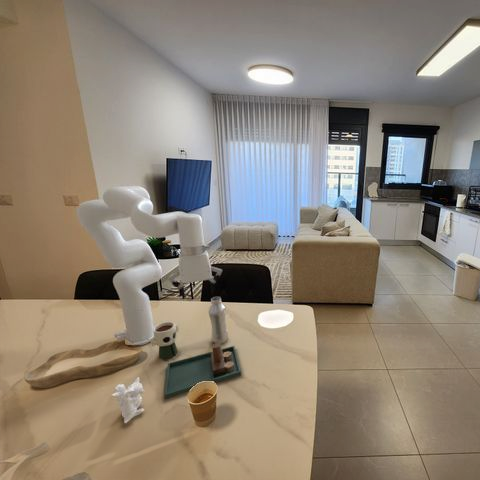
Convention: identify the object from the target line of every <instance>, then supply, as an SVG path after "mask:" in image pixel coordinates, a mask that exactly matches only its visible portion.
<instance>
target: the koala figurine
mask: <svg viewBox="0 0 480 480" xmlns="http://www.w3.org/2000/svg"><path fill="white" fill-rule="evenodd" d="M114 390H115V392H114V393H113V392H112V393H111V394H110V396H111V397H113V398H115V397H116V400H117V402H118V406H119V409H120V411H121V416H122V417H123V424H127V423H128V422H129V421H130V420H131V419H133V418H134V417H136V416H139V415H141V414H142V413H144V411H145V409H144V407H142V408H139V407H140V406H141V404H142V401H143V397H142V396H141V394H144V392H145V389H144V388H143V383H140V377H139V376H138V377H137V378H135V380H134V381H133V383H131V384H129V386H127V388H126V385H125V384H122V383H120V384H117V385H116V386H115V388H114ZM138 408H139V409H138Z"/></svg>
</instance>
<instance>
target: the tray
mask: <svg viewBox="0 0 480 480" xmlns="http://www.w3.org/2000/svg"><path fill="white" fill-rule="evenodd" d="M221 350H222V352H223V354H224V353H225V352H227V351H229V352H231V355H232V358H231V360H229V361H224V363H225V364H226V363H227V362H233V363H234V369H233V371H231V372H226V374H225V375H221V376H218V377H215V378H214V375H213V367H212V358H211V353H212V352H213V350H212V351H209V352H205V353H201V354H197V355H194V356H190V357H187V358H182V359H179V360H175V361H172V362H168V363H167V368H166V377H165V384H164V385H165V386H164V399H165V400H167V399H170V398H173V397H176V396H180V395H182V394H186V393H189V392H190V391H189V390H190V389H191V388H192V387H193V386H195V385H196V384H197V383H199V382H202V381H214V382H215V383H214V384H217V383H221V382H224V381H227V380H230V379H233V378H236V377H239V376H242V370H241V367H240V363H239V358H238V355H237V351H236V347H235V345H231V346H228V347H224V348H221Z"/></svg>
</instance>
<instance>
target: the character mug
mask: <svg viewBox="0 0 480 480" xmlns="http://www.w3.org/2000/svg"><path fill="white" fill-rule="evenodd" d="M179 331H180V327H179V324H178V323H174V322H173V321H164V322H161V323H158V324H157V325H154V329H153V333H154V337H153V338H151V342H150V346H151V347H155V346H157V347H158V359H160V360H162V361H168V360H171V359H173V358H174V357H176V356H177V355H178V351H179V350H178V348H177V345H176V340H177V339H178V334H177V333H179ZM173 356H174V357H173Z"/></svg>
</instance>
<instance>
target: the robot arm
mask: <svg viewBox="0 0 480 480" xmlns="http://www.w3.org/2000/svg"><path fill="white" fill-rule="evenodd" d="M150 196H151V195H150V193H149V192H148V191H147V189H146V188H144V187H142V186H139V185H124V186H123V185H122V186H113V187H109V188H107V189H106V190H105V191H104V192H103V194H102V198H100V199H99V198H98V199H91V200H86V201H83V202H82V203H80V204H79V205H77V207H76V217H77V220H78V222H79V224H80V226H81V227H82V228H83V230H85V232H86V233H87V234H88V235H89V236H90V237H91V238H92V239H93V241H94V242H95V245H96V246H97V248H98V250H99V252H100V253H101V255H102V257H103V259H104V260H105V262H106V264H107V265H108V266H109V267H110V268H113V269H118V268H123V267H126V266H129V265H132V264H135V263H137V264H136V265H133V266H131V267H127V268H124V269H122V270H120V271H118V272H117V273H115V274H114V276H113V278H112V283H113V287H114V289H115V290H116V293H117V295H118V298H119V301H120V305H121V311H122V315H123V320H124V325H125V330H123V331H118V332H115V333H114V337H115V338H116V340H117V341H118V340H122V339H123V340H124V339H126V340H128V341H129V342H130V343H132V344H136V345H139V346H143V345H147V344H148V343H151V338H153V337H154V333H153V329H154V327H155V323H154V318H153V317H154V316H153V312H152V307H151V301H150V297H149V295H148V294H147V293H146V292H144V291H143V288H145V287H147V286H149V285H152V284H154V283H157V282H159V281H160V280H161V279H162V277H163V269H162V267H161V265H160V263H159V260H158V259H157V258H156V255H155V253H154V252H153V250H152V248H151V247H150V246H151V245H149V244H148V242H146V241H145V240H143V239H140V238H134V239H130V240H125V238H124V237H123V236H122V234H121V232H120V231H119V230H118V229H117V228H115V227H114V225H111V224H109V223H107V222H108V221H114V220H120V219H127V218H130V221H131V224H132V225H133V227H134V229H136V230H137V231H138V232H139V233H142V234H144V235H146V236H149V237H151V238H154V239H162V238H165V237H169V236H173V235H177V234H178V239H179V247H180V253H179V255H178V271H176V272H174V273H172V274H171V275H169V276H168V278H167V280H168V281H169V282H170V284H171V285H172V286H174V287H175V288H177V289H178V291H179V297H181V299H182V300H185V299H186V293H185V286H184V285H185V284H189V283H190V284H191V283H196V282H203V281H209V282H210V290H211V295H214V294H215V291H216V290H217V289H216V283H217V281H218V280H219V279H220V277H221V275H222V273H223V269H221V268H218V267H215V266H212V265H211V260H210V256H209V252H208V250H210V244H205V237H204V228H203V219H202V216H201V215H200V214H197V213H187V212H184V211H171V212H166V213H160V214H152V213H153V211H154V204H153V202H152V201H151V197H150ZM212 272H215V273H216V274H215V275H214V276H213V275H212ZM178 277H179V280H180V281H177V280H176V279H175V278H178ZM139 346H138V347H139Z"/></svg>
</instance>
